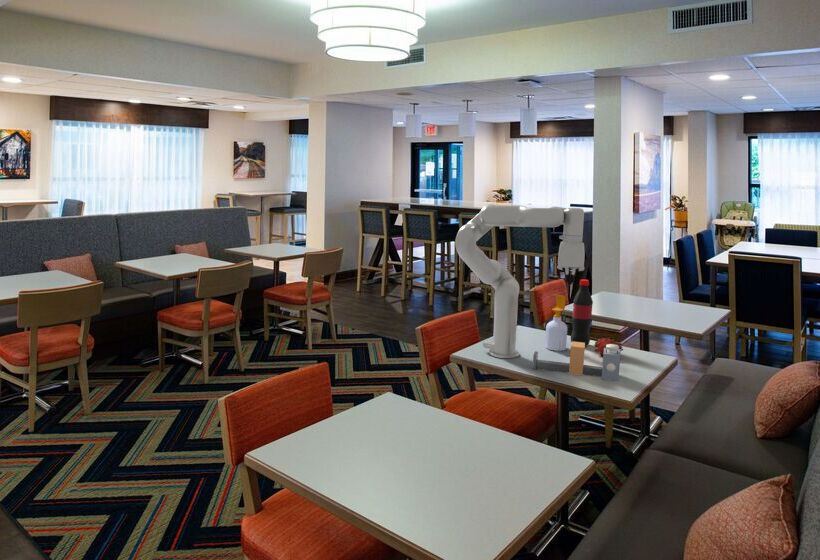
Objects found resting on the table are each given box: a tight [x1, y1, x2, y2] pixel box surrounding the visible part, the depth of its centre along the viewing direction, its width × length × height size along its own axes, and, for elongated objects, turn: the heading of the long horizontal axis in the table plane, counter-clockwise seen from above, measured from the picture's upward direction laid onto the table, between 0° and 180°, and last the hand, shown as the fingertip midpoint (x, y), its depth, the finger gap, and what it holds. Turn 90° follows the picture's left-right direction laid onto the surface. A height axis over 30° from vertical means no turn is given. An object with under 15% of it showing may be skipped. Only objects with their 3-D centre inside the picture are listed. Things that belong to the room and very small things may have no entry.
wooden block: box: [568, 341, 586, 376], centre depth 230 cm, size 5×7×11 cm
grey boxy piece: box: [601, 348, 621, 382], centre depth 226 cm, size 6×8×10 cm
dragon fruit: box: [593, 337, 624, 356], centre depth 252 cm, size 8×8×12 cm
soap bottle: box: [544, 293, 568, 352], centre depth 260 cm, size 9×9×25 cm
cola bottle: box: [570, 279, 594, 347], centre depth 265 cm, size 8×8×30 cm
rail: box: [532, 350, 602, 378], centre depth 231 cm, size 27×5×6 cm, turn 72°
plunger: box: [606, 344, 619, 354], centre depth 225 cm, size 5×5×5 cm
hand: (569, 283), depth 241 cm, fingers closed
